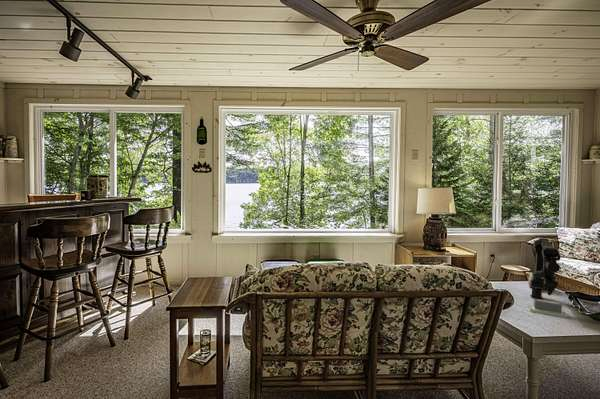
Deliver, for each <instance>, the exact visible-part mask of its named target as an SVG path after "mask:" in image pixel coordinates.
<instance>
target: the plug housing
mask: <svg viewBox="0 0 600 399" xmlns="http://www.w3.org/2000/svg"><path fill="white" fill-rule="evenodd" d="M533 306H534V308H535V309H538V310H544V311H550V312H556V313H561V311H562V310H563V309H562V307H563V305H562V303H561V302H559V301H553V300H547V299H537V298H533Z"/></svg>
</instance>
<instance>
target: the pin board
mask: <svg viewBox="0 0 600 399" xmlns="http://www.w3.org/2000/svg"><path fill="white" fill-rule="evenodd" d="M527 308H528V310H529V311H530V313H535V314H536V313H537V314H541V315H547V316H553V317H557V318H558V317H560V318H564V319H568V314H567V313H566V311H564V309H562V311H561V313H556V312H550V311H544V310H538V309H535V308H534V304H533V305H532V304H528V305H527Z"/></svg>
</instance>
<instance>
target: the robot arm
mask: <svg viewBox="0 0 600 399" xmlns="http://www.w3.org/2000/svg"><path fill="white" fill-rule="evenodd" d="M532 248H533V251H534V252H535V254H536V256H535V265H534V266H535V268H534V271H532V272H531V273H532V275H533V276H532V279H531V280H530V283H529V282H528V283H529V284H528V286H529V289H531V294H530V298H531V299H540V300H544V299H543V292H542V290H545V291H548V293H547V295H548V296H551V295H552V294H553V292H554V291H555V290H556V288H557V287H558V286H559V282H558V281H557V280H556V276H555V275H556V273H557V272H559V270H560V269H561V266H560V264H559V263H558V262H560V260H561V254H560V252H559V250H558V249H557V247H555V246H552V244H551V243H550V238H546V237H545V238H544V237H539V238H538V239H537V240H534V241H533V244H532ZM557 261H558V262H557Z"/></svg>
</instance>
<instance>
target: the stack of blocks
mask: <svg viewBox="0 0 600 399" xmlns="http://www.w3.org/2000/svg"><path fill="white" fill-rule="evenodd" d="M532 276H533V275H532V272H528V285H529V283H530V280H531V279H532ZM545 292H546V294H548V291H545V290H542V293H545Z"/></svg>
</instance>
